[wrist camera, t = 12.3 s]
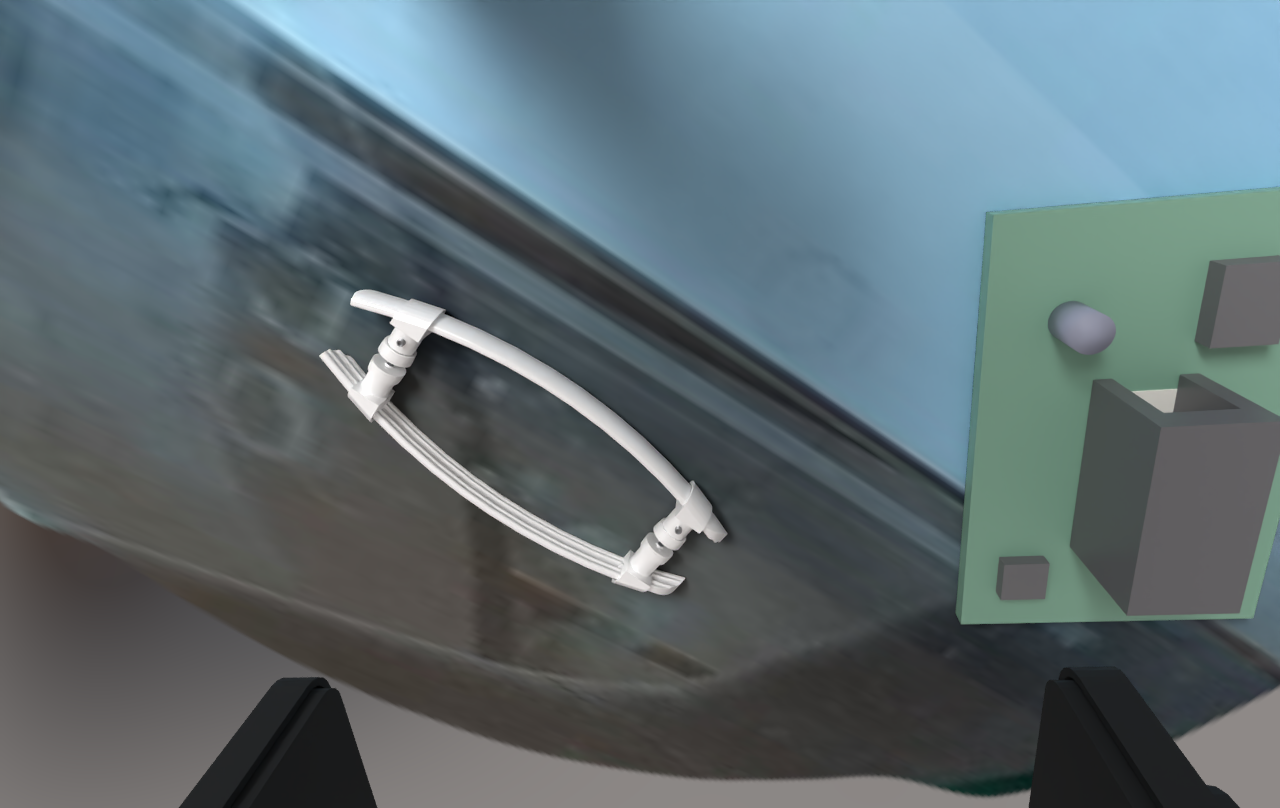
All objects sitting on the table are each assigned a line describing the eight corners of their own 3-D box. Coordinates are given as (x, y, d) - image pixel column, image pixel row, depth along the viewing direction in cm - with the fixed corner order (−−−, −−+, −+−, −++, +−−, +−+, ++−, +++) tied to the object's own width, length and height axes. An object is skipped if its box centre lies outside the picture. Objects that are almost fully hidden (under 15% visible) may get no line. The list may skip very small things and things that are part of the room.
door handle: (393, 245, 39) (753, 500, 43) (316, 379, 42) (655, 604, 46) (371, 254, 36) (756, 524, 40) (291, 396, 40) (652, 632, 44)
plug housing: (1093, 379, 37) (1161, 427, 31) (1199, 373, 36) (1288, 420, 31) (1069, 546, 40) (1126, 615, 35) (1165, 543, 40) (1239, 613, 34)
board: (986, 212, 35) (1013, 222, 32) (1349, 180, 33) (1416, 188, 30) (955, 613, 44) (974, 652, 41) (1241, 607, 42) (1283, 647, 39)
